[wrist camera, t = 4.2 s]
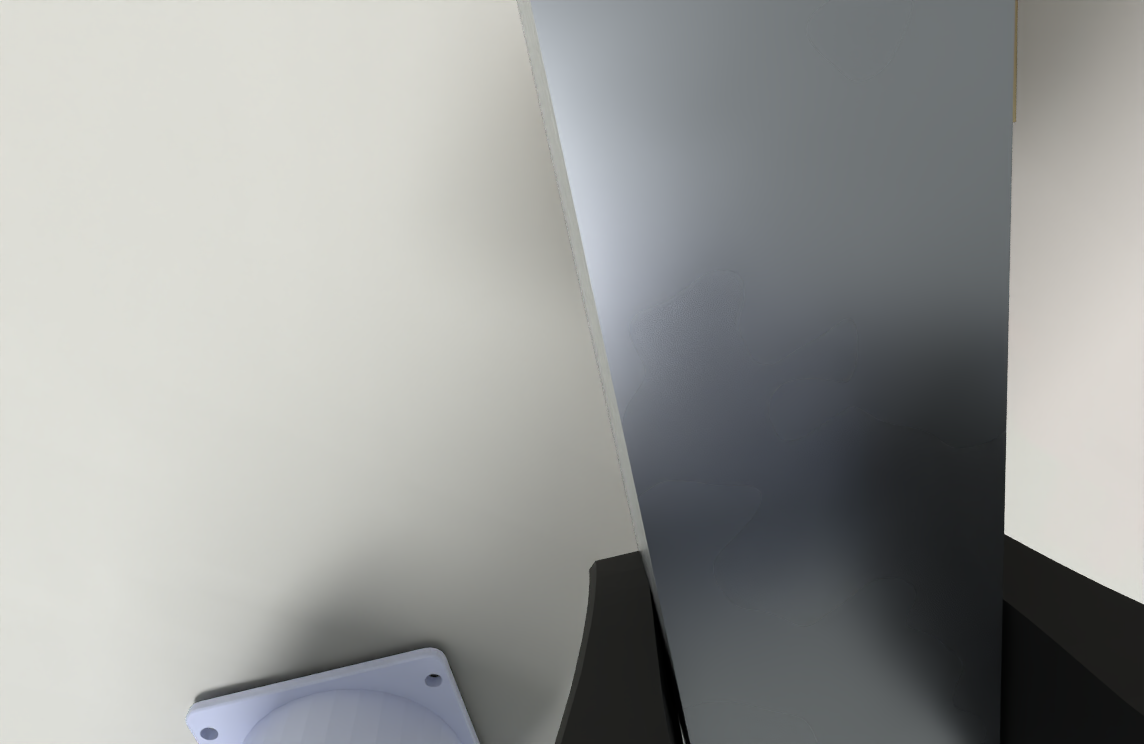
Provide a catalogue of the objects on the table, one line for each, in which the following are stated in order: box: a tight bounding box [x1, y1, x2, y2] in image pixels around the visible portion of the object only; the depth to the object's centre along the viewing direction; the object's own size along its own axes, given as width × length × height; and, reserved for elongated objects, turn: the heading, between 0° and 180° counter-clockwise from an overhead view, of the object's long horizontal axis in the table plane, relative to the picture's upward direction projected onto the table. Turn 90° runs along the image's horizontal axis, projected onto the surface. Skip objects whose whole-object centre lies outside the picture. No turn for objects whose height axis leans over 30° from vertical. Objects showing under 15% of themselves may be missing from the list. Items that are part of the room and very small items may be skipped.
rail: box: [516, 0, 1015, 744], centre depth 10 cm, size 18×3×3 cm, turn 12°
